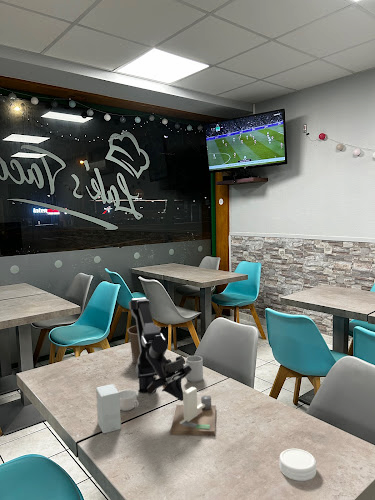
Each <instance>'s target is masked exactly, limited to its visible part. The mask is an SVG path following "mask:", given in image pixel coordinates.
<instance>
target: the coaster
mask: <svg viewBox="0 0 375 500" xmlns="http://www.w3.org/2000/svg"><path fill="white" fill-rule="evenodd" d="M278 458H279V466H278V467H279V470H280V472H281V473H282V474H283V475H284V476H285V477H286V478H287V479H291V480H293V481H297V482H304V481H305V482H307V481H311V480H312V479H314V478H315V476H316V474H317V461H316V458H315V457H314V456H313V455H312V454H311V453H310V452H309V451H306V450H303V449H300V448H288V449H285V450H283V451H282V452H281V453H280V454H279V457H278Z"/></svg>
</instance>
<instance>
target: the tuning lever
mask: <svg viewBox="0 0 375 500" xmlns="http://www.w3.org/2000/svg"><path fill="white" fill-rule="evenodd" d="M197 391H198V389H197V388H196V387H195V386H191V387H189V388H188V389H186V390H183V401H182V402H183V403H182V405H183V409H184V420H182V421H181V422H180V424H182V423H184V422H185V421H188V422H189V421H190V420H192V419H193V418H195V417H196V416H197V412H198V411H199V410H201V409H204V410H209V409H211V405H212V397H211V395H203V396H201V397H200V398H201V402H200V403H199V404H198V392H197ZM197 405H198V406H197Z"/></svg>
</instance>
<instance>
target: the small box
mask: <svg viewBox="0 0 375 500" xmlns="http://www.w3.org/2000/svg"><path fill="white" fill-rule="evenodd" d="M95 391H96V411H97V413H96V416H97V424H98V426H99V428H100V430H101V432H102V433H103V434H107V433H111V432H114V431H119V430H121V429H122V421H121V419H122V418H121V409H120V395H119V391H120V390H118V388H117V387H116V386H115V384H114V383H111V384H107V385H106V384H105V385H102V386H97V387H95Z"/></svg>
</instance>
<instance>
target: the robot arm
mask: <svg viewBox="0 0 375 500" xmlns="http://www.w3.org/2000/svg"><path fill="white" fill-rule="evenodd" d="M128 308H129V310H130V314H131V316H132V317H133V318H134V319H135V323H136V325H137V332H138V340H139V347H140V355H139V358H138V360H137V361H138V364H135V365H136V366H135V376H136V378H137V379H138V393H148V395H149V396H152V395H154V394H155V393H156V392H157V389H159V388H161V387H162V390H161V392H165V393H168V394H169V395H171V396H173V397H174V398H176V399H177V400H179V401H181V402H183V392H184V390H183V388H182V379H185V377H186V376H187V375H188V374H189V373H190V372H191V371H192V369H191V368H190V366H189V365H186V359H185V358H184V357H183V356H182V355H179V356H176V357H175V360H173V361H172V360H171V359H170V358H168V359H167V357H166V356H165V355H166V352H167V350H168V347H169V346H168V345H169V344H168V342H167V339H166V338H165V336H164V335H163V333H162V332H161V330H159V328H158V327H157V326H158V325H156V324H155V322H154V318H153V315H152V312H151V309H150V308H151V300H150V299H147V298H146V297H135V298H133V297H132V298H131V300H129V301H128ZM136 325H135V326H136ZM156 376H158V377H156Z"/></svg>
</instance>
